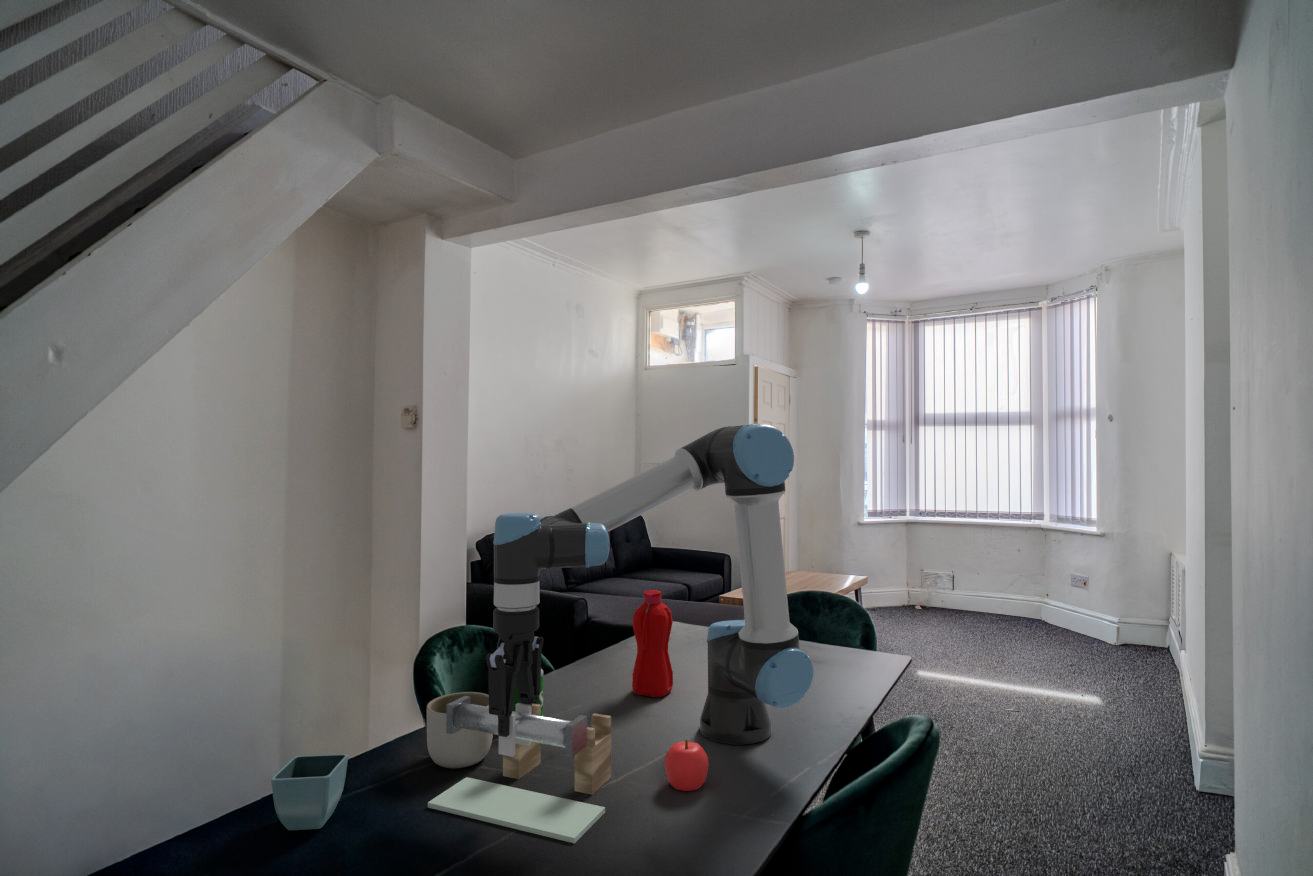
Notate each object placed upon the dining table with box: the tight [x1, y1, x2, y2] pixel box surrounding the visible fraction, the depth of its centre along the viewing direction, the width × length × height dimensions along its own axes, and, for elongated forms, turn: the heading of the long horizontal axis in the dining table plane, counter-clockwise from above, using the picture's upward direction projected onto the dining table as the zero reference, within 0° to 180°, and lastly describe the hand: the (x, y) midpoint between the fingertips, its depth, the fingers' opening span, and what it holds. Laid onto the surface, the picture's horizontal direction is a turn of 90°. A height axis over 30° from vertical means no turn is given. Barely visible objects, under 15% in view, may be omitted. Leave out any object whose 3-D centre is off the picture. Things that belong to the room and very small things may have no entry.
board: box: [427, 776, 606, 844], centre depth 115 cm, size 28×10×1 cm, turn 67°
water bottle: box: [631, 589, 674, 698], centre depth 172 cm, size 9×11×25 cm
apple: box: [663, 739, 710, 792], centre depth 123 cm, size 8×8×8 cm
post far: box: [502, 704, 542, 780], centre depth 130 cm, size 4×7×11 cm, turn 157°
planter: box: [426, 691, 494, 769], centre depth 134 cm, size 12×12×11 cm
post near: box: [574, 713, 612, 796], centre depth 124 cm, size 4×7×11 cm, turn 157°
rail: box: [446, 696, 588, 759], centre depth 115 cm, size 24×5×5 cm, turn 67°
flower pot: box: [270, 753, 349, 831], centre depth 111 cm, size 9×9×9 cm
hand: (515, 748), depth 115 cm, fingers closed on rail, 4 cm apart
